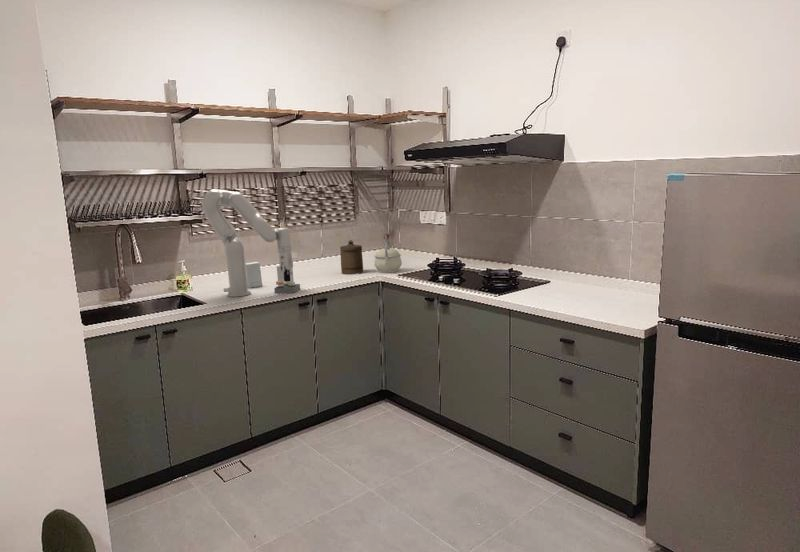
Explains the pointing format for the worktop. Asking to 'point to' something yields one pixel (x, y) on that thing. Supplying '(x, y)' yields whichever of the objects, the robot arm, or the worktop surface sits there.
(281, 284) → the terracotta button
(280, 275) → the supplement box
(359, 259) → the wooden container
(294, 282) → the sage button
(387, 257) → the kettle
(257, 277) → the skincare box
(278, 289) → the button panel
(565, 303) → the worktop surface
